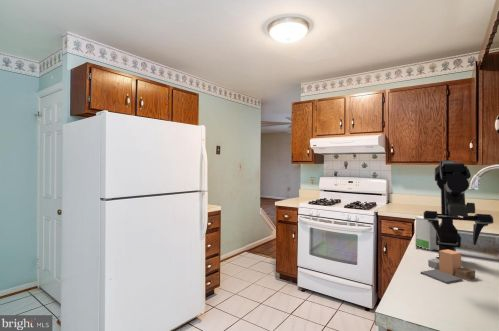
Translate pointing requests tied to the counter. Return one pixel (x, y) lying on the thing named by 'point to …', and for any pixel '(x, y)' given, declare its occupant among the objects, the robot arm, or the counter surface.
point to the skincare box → (425, 234)
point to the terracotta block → (449, 261)
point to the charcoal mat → (441, 276)
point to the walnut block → (465, 273)
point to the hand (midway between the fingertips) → (457, 243)
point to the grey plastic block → (433, 263)
